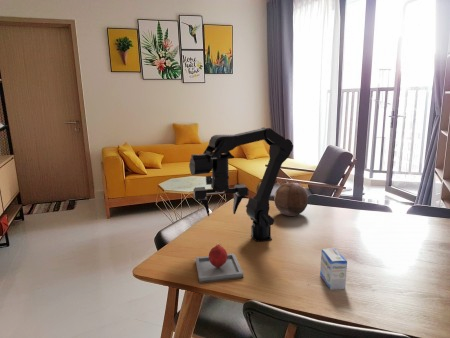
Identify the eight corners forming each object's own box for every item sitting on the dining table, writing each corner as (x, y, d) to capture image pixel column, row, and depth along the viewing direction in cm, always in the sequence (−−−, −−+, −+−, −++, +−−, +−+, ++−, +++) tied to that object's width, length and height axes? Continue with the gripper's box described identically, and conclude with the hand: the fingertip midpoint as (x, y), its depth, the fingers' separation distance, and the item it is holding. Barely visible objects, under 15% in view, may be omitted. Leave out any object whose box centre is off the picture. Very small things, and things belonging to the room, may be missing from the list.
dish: (234, 257, 108) (234, 253, 108) (243, 277, 96) (243, 273, 96) (195, 261, 106) (195, 257, 106) (199, 282, 94) (199, 278, 93)
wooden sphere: (310, 211, 151) (311, 180, 148) (303, 222, 138) (304, 188, 134) (279, 208, 157) (279, 178, 154) (269, 218, 144) (270, 185, 141)
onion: (225, 273, 98) (225, 248, 96) (206, 271, 99) (206, 247, 97) (228, 263, 103) (228, 240, 101) (211, 262, 104) (211, 239, 103)
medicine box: (319, 275, 96) (320, 248, 95) (334, 274, 97) (335, 247, 95) (330, 290, 89) (331, 261, 87) (346, 289, 89) (347, 260, 87)
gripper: (241, 165, 121) (241, 205, 124) (191, 168, 117) (193, 209, 121) (248, 172, 110) (249, 215, 113) (194, 175, 107) (195, 220, 110)
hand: (221, 214), depth 115 cm, fingers open, 9 cm apart
